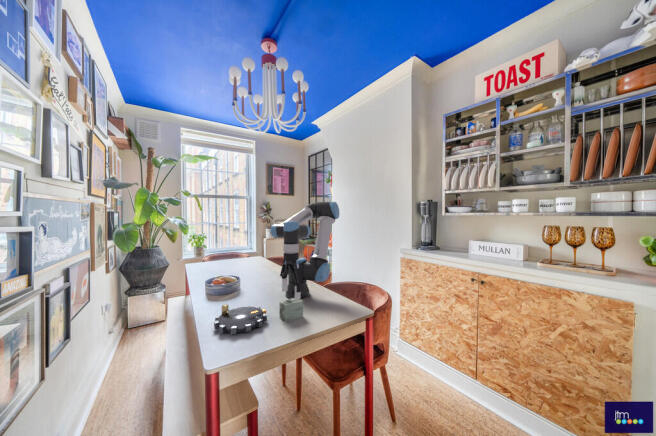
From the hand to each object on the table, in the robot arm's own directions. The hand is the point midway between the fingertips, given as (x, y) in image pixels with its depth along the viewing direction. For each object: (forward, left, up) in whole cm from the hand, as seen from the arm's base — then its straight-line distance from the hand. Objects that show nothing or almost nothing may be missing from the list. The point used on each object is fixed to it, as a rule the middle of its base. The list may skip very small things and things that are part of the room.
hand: (290, 294), depth 113 cm
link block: (0, 0, -11) cm, 11 cm away
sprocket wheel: (-8, -22, -11) cm, 26 cm away
